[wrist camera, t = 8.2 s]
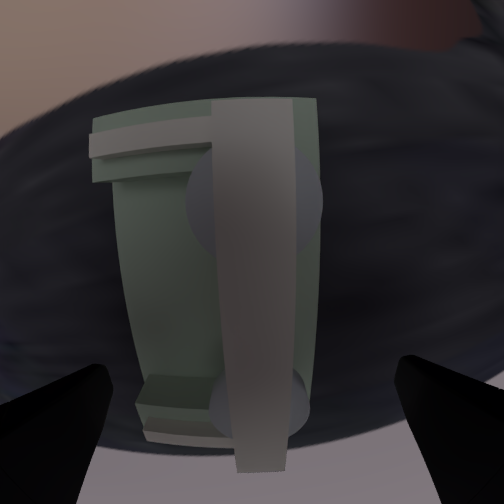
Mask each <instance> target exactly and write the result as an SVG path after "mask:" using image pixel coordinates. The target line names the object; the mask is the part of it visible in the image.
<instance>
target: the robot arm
mask: <svg viewBox="0 0 504 504" xmlns="http://www.w3.org/2000/svg"><path fill="white" fill-rule="evenodd" d="M394 383H395V387H396V390H397V393H398V395H399V398H400V401H401V404H402V407H403V410H404V413H405V416H406V419H407V422H408V424H409V427H410V429H411V431H412V433H413V435H414V438H415V440H416V442H417V444H418V447H419V449H420V451H421V454H422V456H423V458H424V461H425V463H426V465H427V468H428V470H429V473H430V475H431V477H432V480H433V483H434V485H435V488H436V490H437V493H438V496H439V498H440V501H441V503H442V504H504V390H503V389H499V388H497V387H494V386H492V385H489V384H486V383H484V382H481V381H478V380H476V379H473V378H470V377H468V376H465V375H463V374H460V373H457V372H455V371H452V370H450V369H447V368H445V367H442V366H440V365H437V364H435V363H432V362H430V361H427V360H425V359H422V358H420V357H417V356H415V355H407V356H403V357H401V358H400V360H399V363H398V367H397V370H396V374H395V378H394ZM112 394H113V384H112V382H111V379H110V376H109V373H108V370H107V368H106V366H105V365H101V364H91V365H89V366H87V367H85V368H83V369H81V370H78V371H76V372H74V373H72V374H70V375H68V376H65V377H63V378H61V379H59V380H57V381H54V382H52V383H50V384H48V385H46V386H43V387H41V388H39V389H37V390H34V391H32V392H30V393H28V394H25V395H23V396H21V397H18V398H16V399H14V400H11V401H10V402H7V403H4V404H2V405H0V504H76V502H77V499H78V496H79V493H80V490H81V487H82V484H83V481H84V478H85V475H86V472H87V470H88V467H89V464H90V461H91V458H92V456H93V453H94V451H95V448H96V445H97V443H98V440H99V438H100V435H101V432H102V430H103V426H104V423H105V419H106V415H107V412H108V408H109V405H110V401H111V398H112Z"/></svg>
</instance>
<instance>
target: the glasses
mask: <svg viewBox="0 0 504 504" xmlns="http://www.w3.org/2000/svg"><path fill="white" fill-rule="evenodd" d="M203 147H212V148H210V149H209V150H208V151H207V152H206V153H205V154H204V155H203V156H202V157H201V159H200V160H199V161H198V162H197V164H196V166H195V167H194V169H193V171H192V173H191V175H190V178H189V181H188V184H187V188H186V195H185V207H186V214H187V218H188V222H189V225H190V227H191V230H192V232H193V234H194V235H195V237H196V239H197V240H198V241H199V243H200V244H201V245H202V246H203V248H204V249H205V250H206V251H207V252H209V253H210V254H211V255H212V256H214V257H215V258H216V260H217V276H218V291H219V304H220V317H221V330H222V342H223V353H224V363H225V369H224V370H223V371H222V372H221V373H220V374H219V375H218V376H217V378H216V379H215V381H214V384H213V387H212V392H211V398H210V404H209V417H210V420H211V422H196V421H182V420H171V419H162V418H153V417H148V418H147V421H146V423H145V426H144V428H143V433H144V435H145V437H146V440H147V441H151V442H158V443H166V444H174V445H184V446H195V447H212V448H234V452H235V459H236V467H237V473H254V472H278V471H285V464H286V454H287V443H288V437H289V436H291V435H292V434H294V433H295V432H297V431H298V430H299V429H300V428H301V427H302V426H303V425H304V424H305V422H306V421H307V419H308V417H309V413H310V404H309V399H308V395H307V392H306V388H305V384H304V381H303V379H302V377H301V376H300V374H299V373H298V372H297V371H296V370H295V369H294V368H293V357H294V334H295V304H296V255H297V254H298V253H300V252H301V251H302V250H303V249H304V248H305V247H306V245H307V244H308V243H309V242H310V240H311V239H312V237H313V236H314V234H315V232H316V230H317V228H318V225H319V222H320V219H321V215H322V209H323V194H322V188H321V183H320V180H319V177H318V175H317V173H316V171H315V169H314V167H313V165H312V164H311V162H310V161H309V159H308V158H307V157H306V156H305V155H304V154H303V153H302V152H301V151H300V150H299V149H298V148H296V147H295V142H294V120H293V101H292V99H279V98H260V99H230V100H214V101H211V116H201V117H190V118H181V119H172V120H165V121H157V122H151V123H144V124H138V125H132V126H127V127H121V128H116V129H111V130H107V131H102V132H97V133H93V134H89V158H92V159H99V160H106V159H112V158H118V157H124V156H131V155H137V154H145V153H153V152H161V151H170V150H180V149H191V148H203Z"/></svg>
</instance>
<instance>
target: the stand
mask: <svg viewBox="0 0 504 504" xmlns="http://www.w3.org/2000/svg"><path fill="white" fill-rule="evenodd" d="M260 98H279V99H292V101H293V120H294V142H295V147H296V148H298V149H299V150H300V151H301V152H302V153H303V154H304V155H305V156H306V157H307V158H308V159H309V161H310V162H311V164H312V165H313V167H314V169H315V171H316V173H317V175H318V177H319V180H320V160H319V137H318V119H317V104H316V98H298V97H237V98H219V99H206V100H196V101H186V102H178V103H170V104H163V105H157V106H150V107H145V108H139V109H134V110H128V111H124V112H119V113H114V114H110V115H105V116H101V117H97V118H93V132H92V134H93V133H97V132H102V131H107V130H111V129H116V128H121V127H127V126H132V125H138V124H144V123H151V122H157V121H165V120H172V119H181V118H190V117H201V116H211V101H214V100H230V99H260ZM210 148H212V147H203V148H191V149H180V150H170V151H161V152H153V153H145V154H137V155H131V156H124V157H118V158H112V159H106V160H99V159H92V180H93V183H98V182H113V202H114V216H115V228H116V238H117V247H118V255H119V263H120V270H121V277H122V283H123V289H124V295H125V301H126V306H127V311H128V316H129V321H130V326H131V331H132V335H133V340H134V344H135V348H136V352H137V356H138V360H139V364H140V368H141V371H142V375H143V379H144V382H145V383H144V385H143V387H142V389H141V391H140V394H139V396H138V398H137V400H136V402H135V405H136V408H137V411H138V413H139V416H140V419H141V421H142V424H143V426H145V423H146V421H147V418H148V417H153V418H162V419H171V420H182V421H196V422H211V420H210V417H209V404H210V398H211V392H212V387H213V384H214V381H215V379H216V378H217V376H218V375H219V374H220V373H221V372H222V371H223V370H224V369H225V363H224V353H223V342H222V330H221V317H220V304H219V291H218V276H217V260H216V258H215V257H214V256H212V255H211V254H210V253H209V252H207V251H206V250H205V249H204V248H203V246H202V245H201V244H200V243H199V241H198V240H197V239H196V237H195V235H194V234H193V232H192V230H191V227H190V225H189V222H188V218H187V214H186V207H185V195H186V188H187V184H188V181H189V178H190V175H191V173H192V171H193V169H194V167H195V166H196V164H197V162H198V161H199V160H200V159H201V157H202V156H203V155H204V154H205V153H206V152H207V151H208V150H209V149H210ZM319 268H320V222H319V225H318V228H317V230H316V232H315V234H314V236H313V237H312V239H311V240H310V242H309V243H308V244H307V245H306V247H305V248H304V249H303V250H302V251H301V252H300V253H298V254H297V255H296V304H295V334H294V357H293V368H294V369H295V370H296V371H297V372H298V373H299V374H300V376H301V377H302V379H303V381H304V384H305V388H306V392H307V395H308V399H309V400H310V392H311V383H312V373H313V363H314V352H315V340H316V326H317V311H318V293H319Z"/></svg>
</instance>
